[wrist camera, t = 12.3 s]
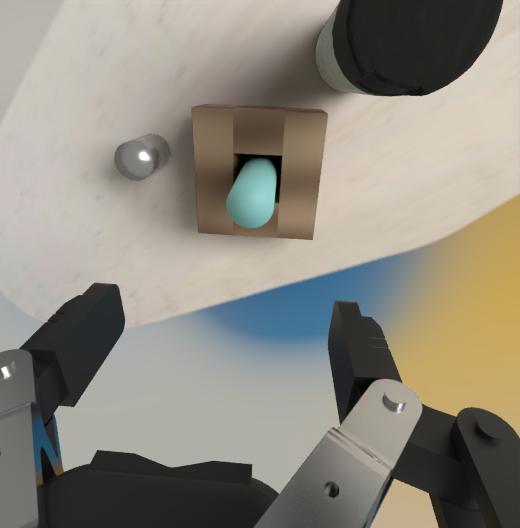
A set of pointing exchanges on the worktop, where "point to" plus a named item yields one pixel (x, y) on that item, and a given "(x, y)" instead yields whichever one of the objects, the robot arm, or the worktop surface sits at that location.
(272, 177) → the long pin
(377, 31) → the spray can
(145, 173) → the short pin
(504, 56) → the worktop surface
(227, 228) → the socket block
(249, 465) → the robot arm
